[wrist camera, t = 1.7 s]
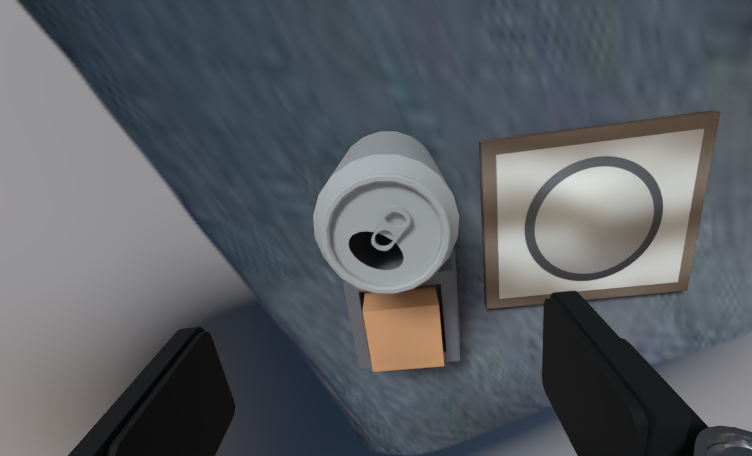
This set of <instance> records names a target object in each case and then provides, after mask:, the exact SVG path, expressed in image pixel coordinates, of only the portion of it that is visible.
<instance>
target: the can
mask: <svg viewBox="0 0 752 456" xmlns="http://www.w3.org/2000/svg"><path fill="white" fill-rule="evenodd" d="M313 219H314V232H315V239H316V241H317V243H318V246H319V248H320V250H321V253H322V255H323V257H324V258H325V259H326V260H327V262H328V263H329V265H330V266H331V267H332V268H333V269H334V270H335V272H336V273H337V274H338V275H339V276H340V277H341V278H342V279H343V280H345V281H346V282H348V283H350V284H351V285H353V286H354V287H356V288H358V289H361V290H365V291H368V292H371V293H375V294H397V293H400V292H404V291H408V290H412V289H414V288H416V287H418V286H419V285H421V284H423V283H424V282H426V281H427V280H429V279H430V278H431V277H432V276H433V275H434V274H435V273H436V272H437V271H438V270H439V268H440V267H441V266H442V265H443V264H444V263H445V262H446V261H447V259H448V258H449V257H450V254H451V252H452V250H453V247H454V245H455V243H456V241H457V238H458V226H459V214H458V210H457V206H456V203H455V199H454V195H453V193H452V192H451V190H450V188H449V186H448V184H447V183H446V181H445V179H444V177H443V176H442V174H441V172H440V170H439V168H438V167H437V165H436V163H435V161H434V159H433V158H432V157H431V155H430V154H429V152H428V151H427V149H426V148H425V146H423V145H422V144H421V143H419V142H418V141H417V140H415V139H414V138H413V137H411V136H408V135H405V134H402V133H399V132H396V131H390V132H377V133H374V134H371V135H368V136H365V137H363V138H362V139H361V140H359V141H358V142H357V143H355V144H354V145H353V146H351V148H350V149H349V151H348V152H347V154H346V155H345V157H344V158H343V159H342V161H341V162H340V164H339V165H338V167H337V168H336V170H335V171H334V173H333V174H332V176H331V177H330V179H329V180H328V182H327V183H326V185H325V186H324V188H323V189H322V191H321V192H320V194H319V196H318V200H317V204H316V208H315V211H314V215H313Z"/></svg>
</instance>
